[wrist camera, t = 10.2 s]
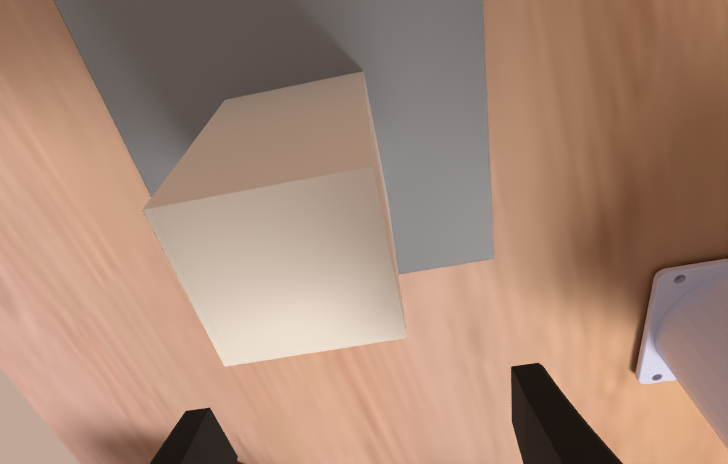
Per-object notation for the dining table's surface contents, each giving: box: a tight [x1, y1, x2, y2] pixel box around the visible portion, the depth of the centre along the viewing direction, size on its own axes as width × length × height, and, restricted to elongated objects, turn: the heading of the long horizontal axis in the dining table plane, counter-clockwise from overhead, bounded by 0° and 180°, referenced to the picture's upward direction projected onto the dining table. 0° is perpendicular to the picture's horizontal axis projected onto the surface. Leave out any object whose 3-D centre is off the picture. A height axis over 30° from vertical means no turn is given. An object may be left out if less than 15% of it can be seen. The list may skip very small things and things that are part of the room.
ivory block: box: [142, 71, 407, 366], centre depth 13 cm, size 4×4×7 cm
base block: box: [54, 0, 494, 274], centre depth 17 cm, size 12×12×2 cm
